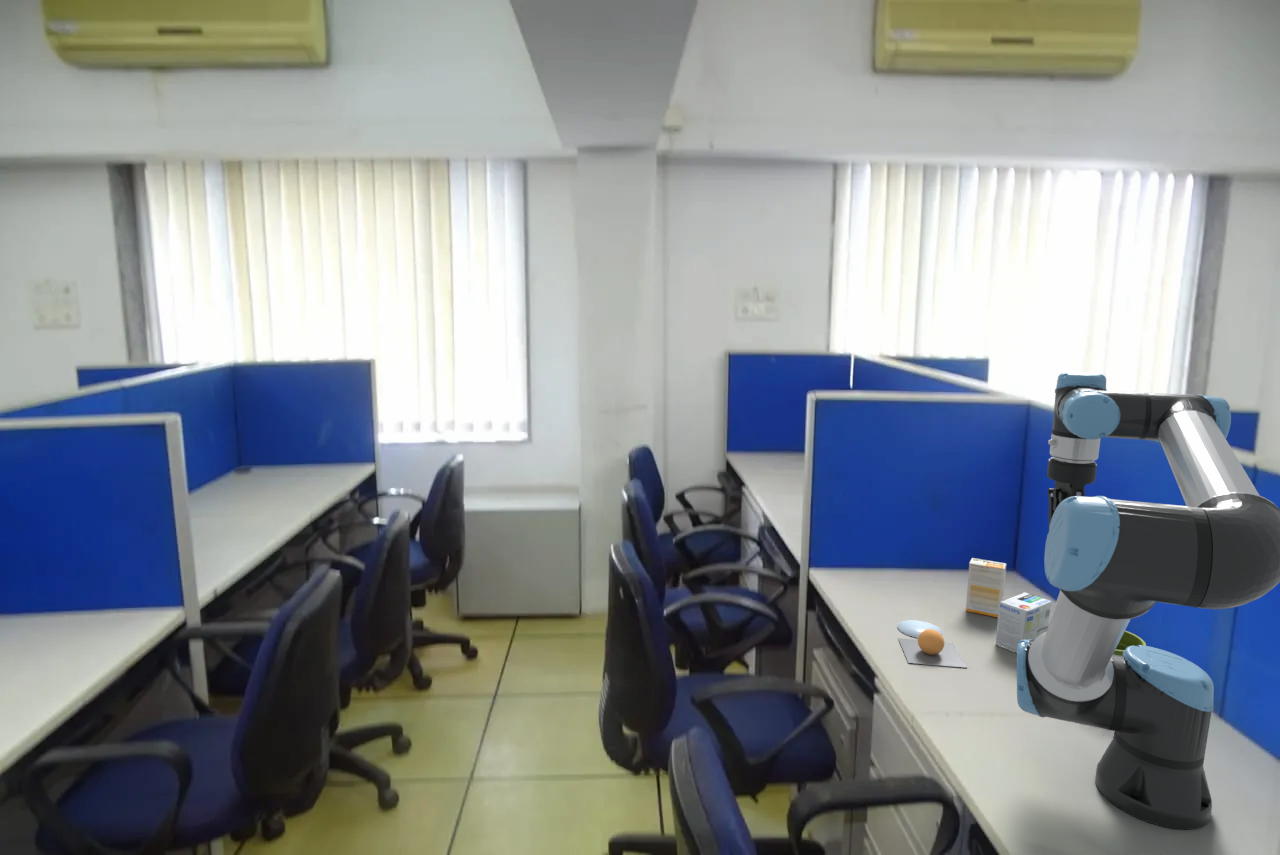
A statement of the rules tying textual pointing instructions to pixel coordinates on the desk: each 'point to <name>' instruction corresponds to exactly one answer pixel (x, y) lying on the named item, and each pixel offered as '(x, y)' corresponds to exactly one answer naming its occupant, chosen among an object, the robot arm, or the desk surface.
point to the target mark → (944, 658)
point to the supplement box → (985, 586)
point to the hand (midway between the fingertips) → (1058, 584)
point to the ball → (931, 641)
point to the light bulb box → (1021, 619)
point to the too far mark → (916, 627)
